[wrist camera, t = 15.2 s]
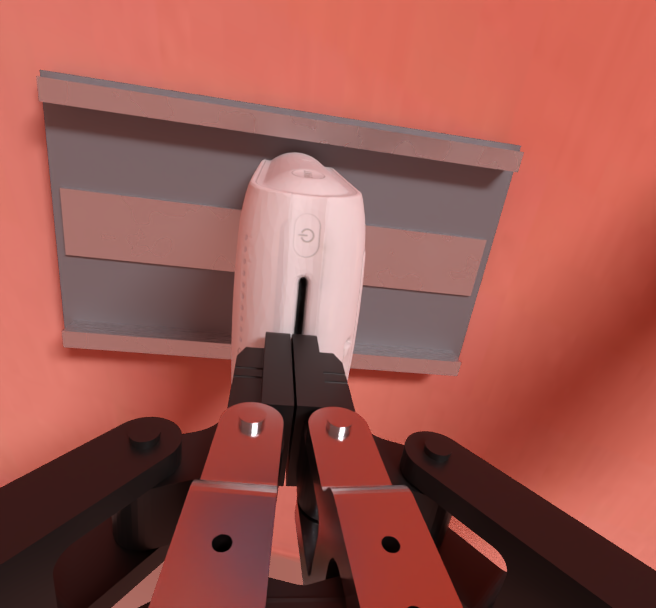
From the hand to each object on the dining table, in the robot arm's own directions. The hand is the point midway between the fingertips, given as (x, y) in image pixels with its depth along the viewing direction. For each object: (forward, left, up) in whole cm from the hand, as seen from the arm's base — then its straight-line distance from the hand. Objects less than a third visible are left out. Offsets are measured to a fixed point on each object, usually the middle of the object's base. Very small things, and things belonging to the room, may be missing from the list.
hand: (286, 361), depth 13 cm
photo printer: (0, 0, -13) cm, 13 cm away
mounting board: (0, 0, -14) cm, 14 cm away
